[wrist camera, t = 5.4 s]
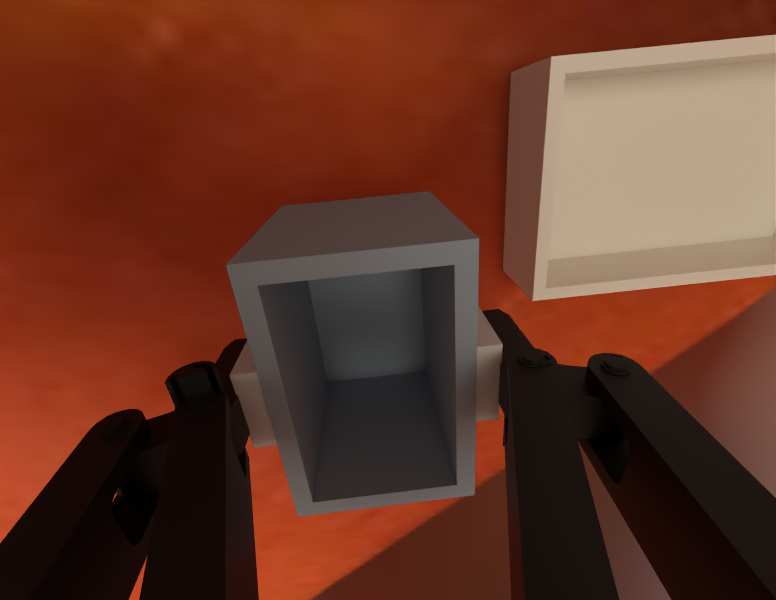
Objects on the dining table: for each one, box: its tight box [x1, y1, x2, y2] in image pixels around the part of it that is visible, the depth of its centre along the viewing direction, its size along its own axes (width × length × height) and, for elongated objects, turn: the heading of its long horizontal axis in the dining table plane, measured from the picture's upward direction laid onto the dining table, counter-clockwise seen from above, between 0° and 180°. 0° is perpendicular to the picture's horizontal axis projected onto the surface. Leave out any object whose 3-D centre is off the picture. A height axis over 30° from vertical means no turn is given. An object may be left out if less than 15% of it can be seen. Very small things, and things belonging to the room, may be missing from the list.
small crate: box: [226, 191, 479, 517], centre depth 14 cm, size 9×6×7 cm, turn 5°
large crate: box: [503, 35, 776, 301], centre depth 25 cm, size 14×22×6 cm, turn 95°
